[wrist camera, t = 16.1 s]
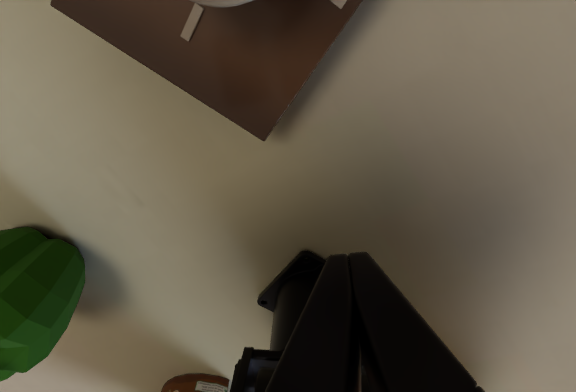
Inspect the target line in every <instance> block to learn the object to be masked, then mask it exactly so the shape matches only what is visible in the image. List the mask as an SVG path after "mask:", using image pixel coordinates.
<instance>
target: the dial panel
mask: <svg viewBox="0 0 576 392" xmlns="http://www.w3.org/2000/svg"><path fill="white" fill-rule="evenodd" d="M361 2H362V0H254V1H251V2H248V3H245V4H241V5H238V6H232V7H211V6H205V5H201V4H198V3H195V2H192V1H190V0H51V6H52V7H54V8H55V9H57V10H59V11H60V12H62V13H63V14H65V15H66V16H68V17H69V18H71V19H73V20H74V21H76V22H77V23H79V24H80V25H82V26H84V27H85V28H87V29H88V30H90V31H91V32H93V33H95V34H96V35H98V36H99V37H101V38H102V39H104V40H106V41H107V42H109V43H110V44H112V45H113V46H115V47H117V48H118V49H120V50H121V51H123V52H124V53H126V54H127V55H129V56H131V57H132V58H134V59H135V60H137V61H138V62H140V63H142V64H143V65H145V66H146V67H148V68H149V69H151V70H153V71H154V72H156V73H157V74H159V75H160V76H162V77H164V78H165V79H167V80H168V81H170V82H171V83H173V84H174V85H176V86H178V87H179V88H181V89H182V90H184V91H185V92H187V93H189V94H190V95H192V96H193V97H195V98H196V99H198V100H200V101H201V102H203V103H204V104H206V105H207V106H209V107H211V108H212V109H214V110H215V111H217V112H218V113H220V114H221V115H223V116H225V117H226V118H228V119H229V120H231V121H232V122H234V123H236V124H237V125H239V126H240V127H242V128H243V129H245V130H247V131H248V132H250V133H251V134H253V135H254V136H256V137H258V138H259V139H261V140H262V141H265V140H266V139H267V137H268V136H269V134H270V133H271V131H272V130H273V128H274V127H275V126H276V124H277V123H278V121H279V120H280V118H281V117H282V116H283V114H284V113H285V111H286V110H287V108H288V107H289V105H290V104H291V103H292V101H293V100H294V98H295V97H296V95H297V94H298V92H299V91H300V90H301V88H302V87H303V85H304V84H305V82H306V81H307V80H308V78H309V77H310V75H311V74H312V72H313V71H314V69H315V68H316V67H317V65H318V64H319V62H320V61H321V59H322V58H323V56H324V55H325V54H326V52H327V51H328V49H329V48H330V46H331V45H332V44H333V42H334V41H335V39H336V38H337V36H338V35H339V33H340V32H341V31H342V29H343V28H344V26H345V25H346V23H347V22H348V21H349V19H350V18H351V16H352V15H353V13H354V12H355V10H356V9H357V8H358V6H359V5H360V3H361Z"/></svg>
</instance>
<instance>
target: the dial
mask: <svg viewBox="0 0 576 392" xmlns="http://www.w3.org/2000/svg"><path fill="white" fill-rule="evenodd" d="M190 1H192V2H195V3H198V4H201V5H205V6H211V7H232V6H238V5H241V4H245V3H248V2H251V1H254V0H190Z"/></svg>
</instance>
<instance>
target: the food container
mask: <svg viewBox="0 0 576 392" xmlns="http://www.w3.org/2000/svg"><path fill="white" fill-rule="evenodd" d="M228 384H229V380H228V379H225V378H222V377H219V376H213V375H207V374H185V375H180V376H176V377H174V378H172V379H170V380H168V381H167V382H166V383H165V385H164V386H163V389H162V391H161V392H227V390H228Z"/></svg>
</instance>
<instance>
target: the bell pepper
mask: <svg viewBox="0 0 576 392" xmlns="http://www.w3.org/2000/svg"><path fill="white" fill-rule="evenodd" d="M84 284H85V264H84V259H83V257H82V256H81V254H80V253H79V251H78V249H77V248H76V247H74V246H72V245H70V244H68V243H66V242H64V241H62V240H60V239H47V238H46V237H45V236H43V235H42V234H41V233H40V232H39V231H37V230H34V229H32V228H29V227H22V228H15V229H8V230H1V231H0V381H3V380H5V379H8V378H9V377H10V376H12V375H13V374H14V373H16V372H19V373H24V372H27V371H28V370H30V369H31V368H33V367H34V366H35V365H37V364H38V363H39V362H41V361H42V360H43V359H45V358H46V357H47V356H48V355H49V354H50V352H51V351H52V349H53V348H54V346H55V345H56V343H57V342H58V340H59V339H60V337H61V336H62V334H63V333H64V332H65V330H66V329H67V327H68V324H69V322H70V320H71V317H72V315H73V313H74V310H75V308H76V306H77V303H78V301H79V298H80V295H81V293H82V290H83V287H84Z"/></svg>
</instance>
